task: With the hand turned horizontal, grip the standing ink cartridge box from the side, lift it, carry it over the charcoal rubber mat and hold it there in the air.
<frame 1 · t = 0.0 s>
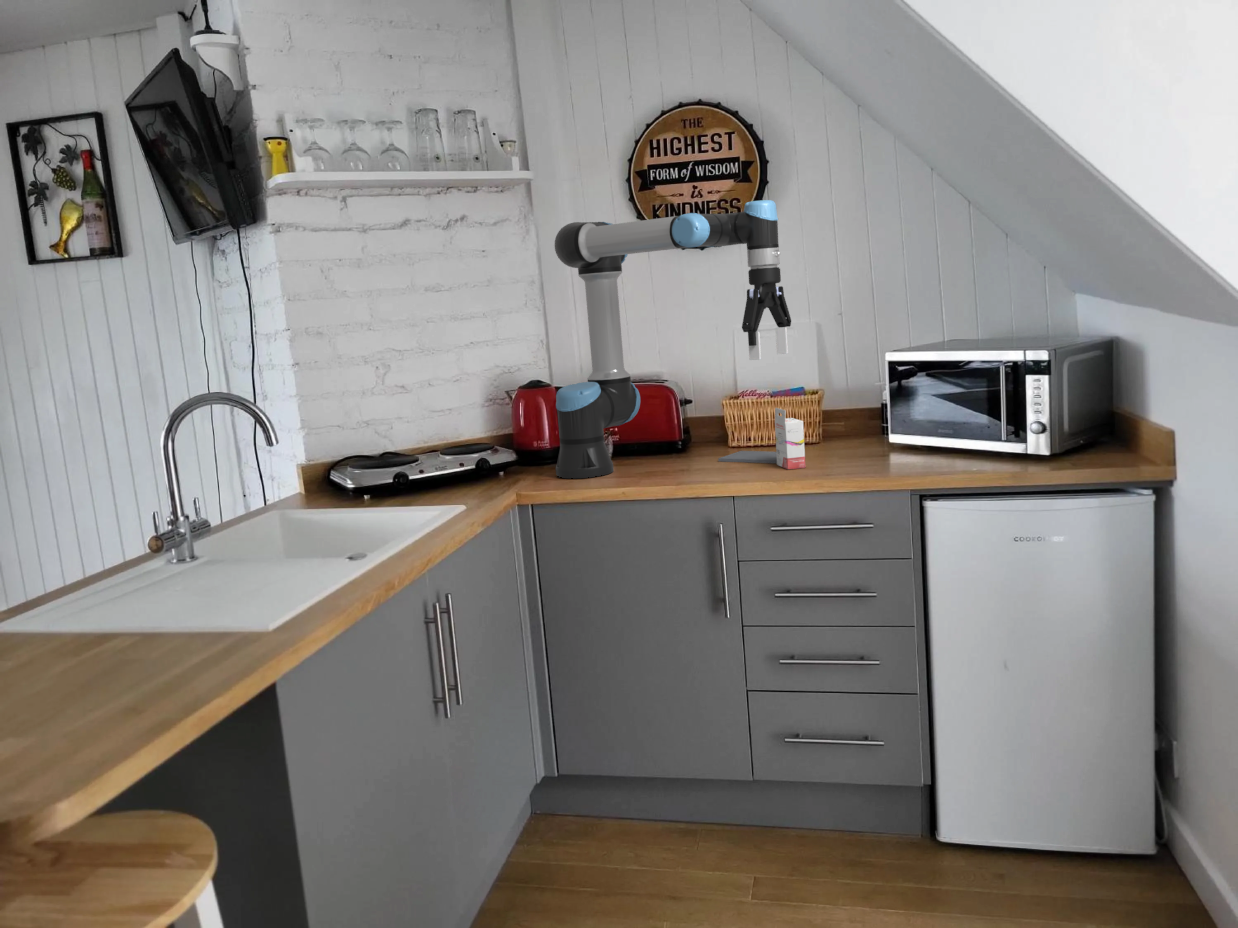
hand: (769, 357, 255), 28 cm above the worktop, tool pointing down, fingers open, 13 cm apart
charcoal mat: (759, 458, 280), on the worktop
ink cartridge box: (791, 467, 264), on the worktop
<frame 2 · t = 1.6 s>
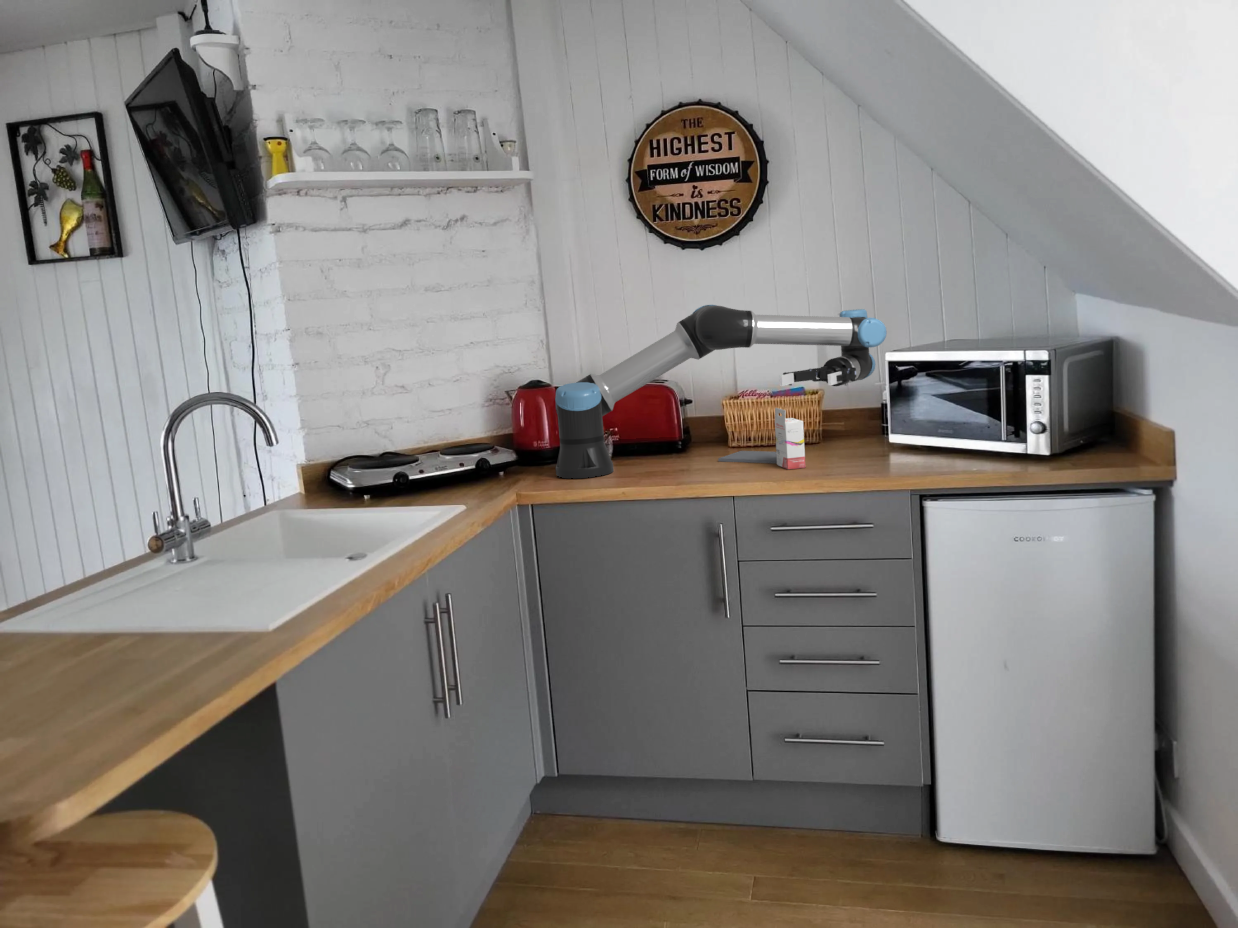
hand: (804, 380, 268), 20 cm above the worktop, tool horizontal, fingers open, 13 cm apart
nothing on the worktop moved.
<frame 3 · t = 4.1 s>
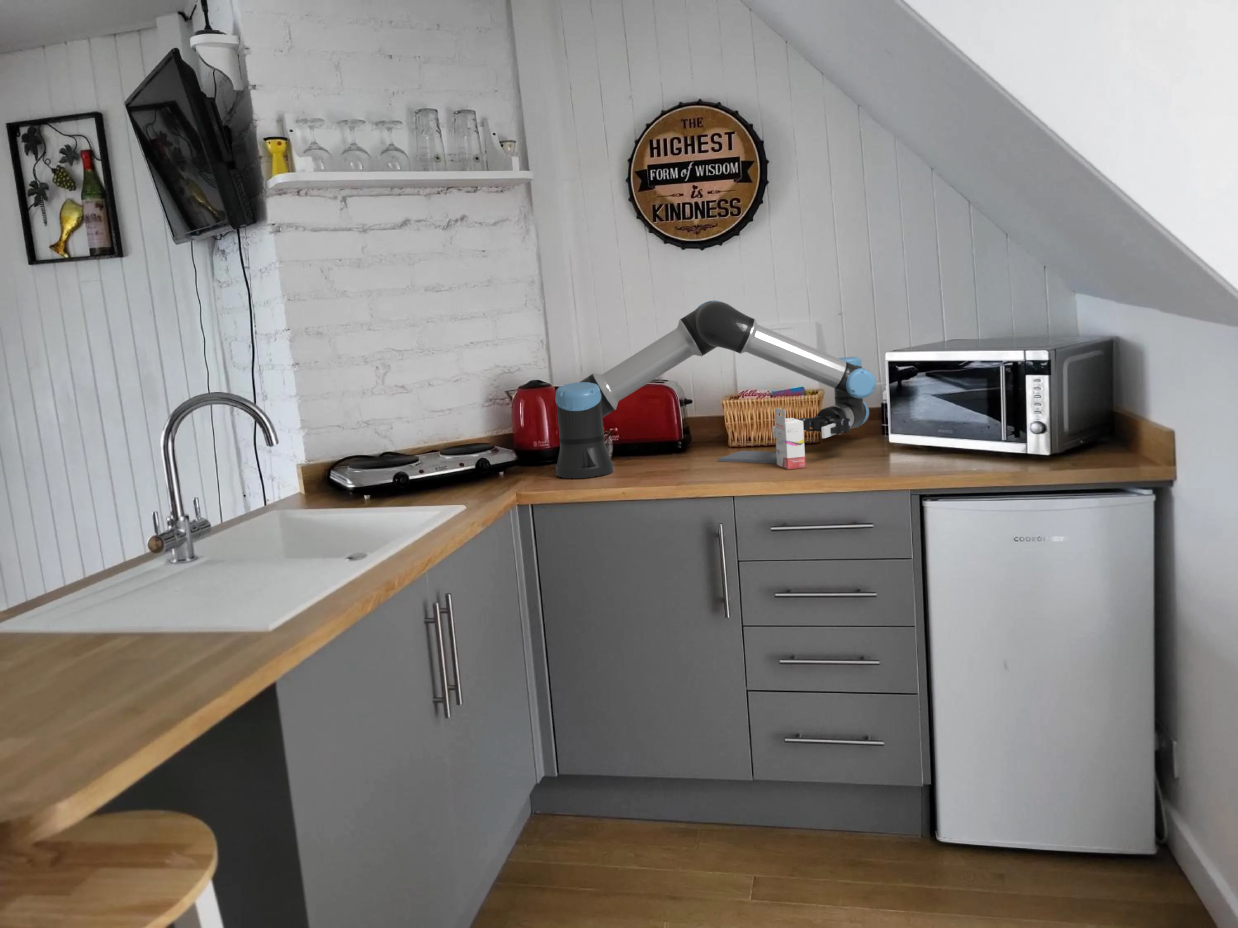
hand: (798, 432, 265), 8 cm above the worktop, tool horizontal, fingers open, 13 cm apart
nothing on the worktop moved.
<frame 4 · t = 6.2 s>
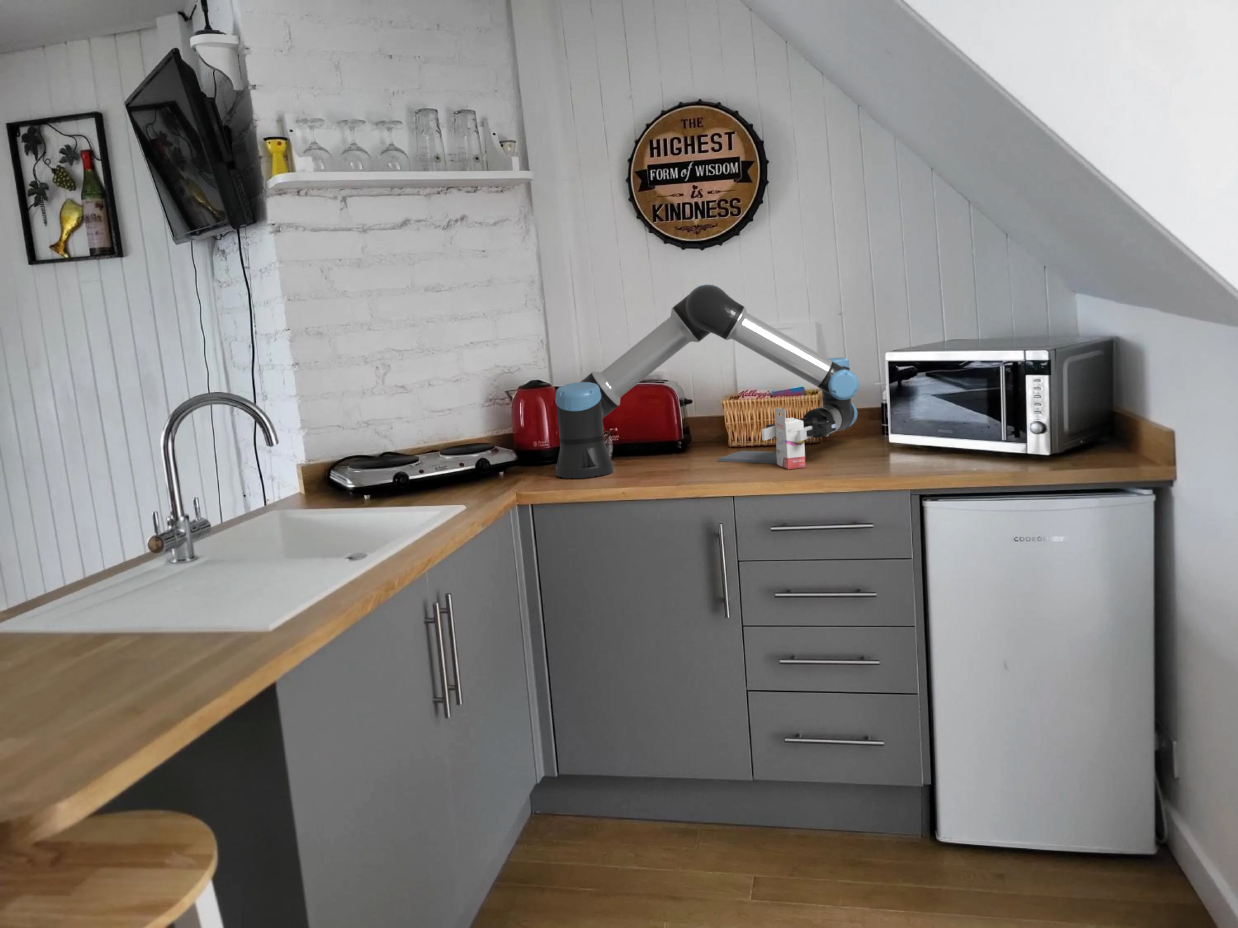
hand: (780, 435, 259), 9 cm above the worktop, tool horizontal, fingers closed on ink cartridge box, 9 cm apart
ink cartridge box: (791, 467, 264), on the worktop, touching gripper
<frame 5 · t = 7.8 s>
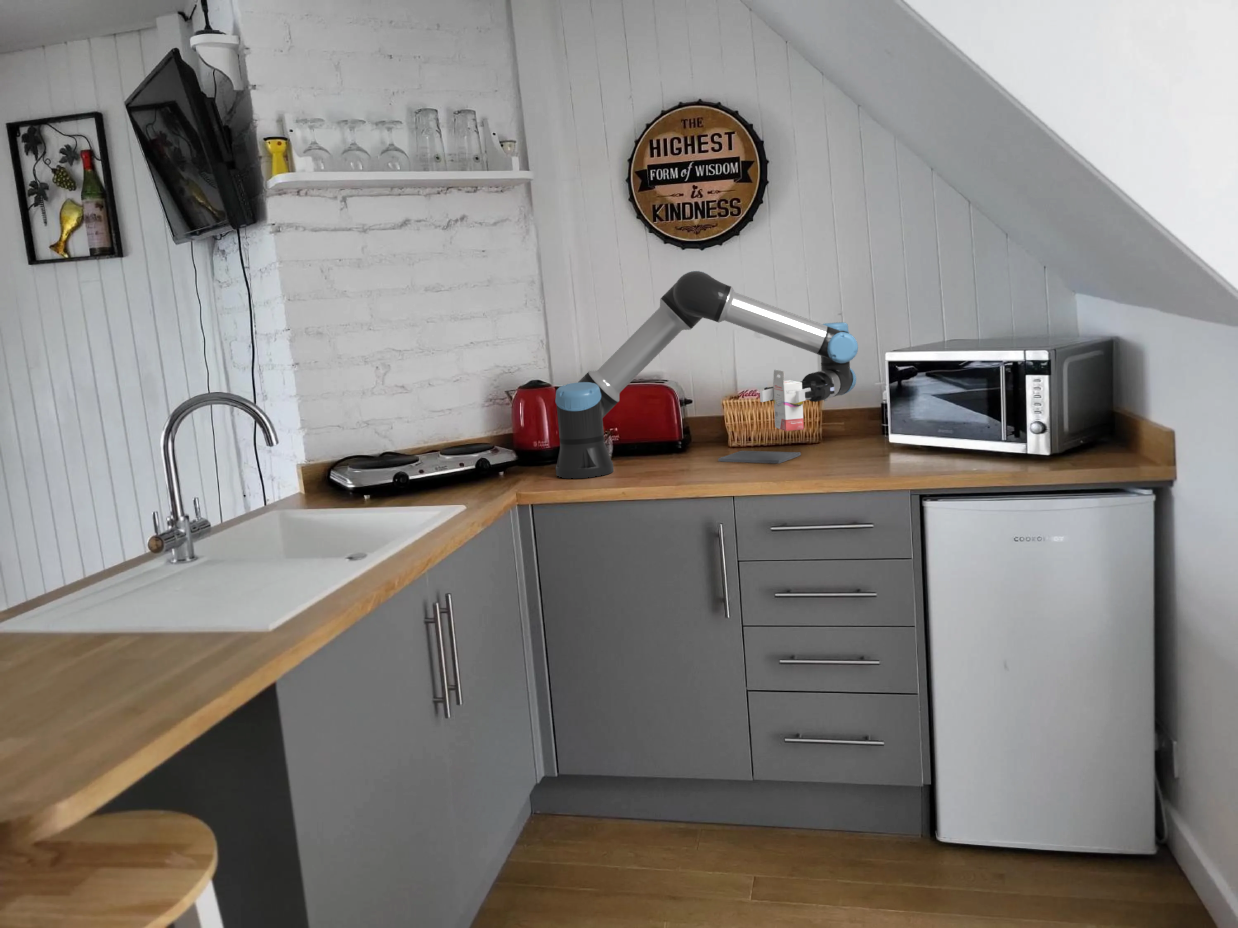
hand: (779, 396, 258), 18 cm above the worktop, tool horizontal, fingers closed on ink cartridge box, 9 cm apart
ink cartridge box: (789, 429, 263), point 9 cm above the worktop, touching gripper
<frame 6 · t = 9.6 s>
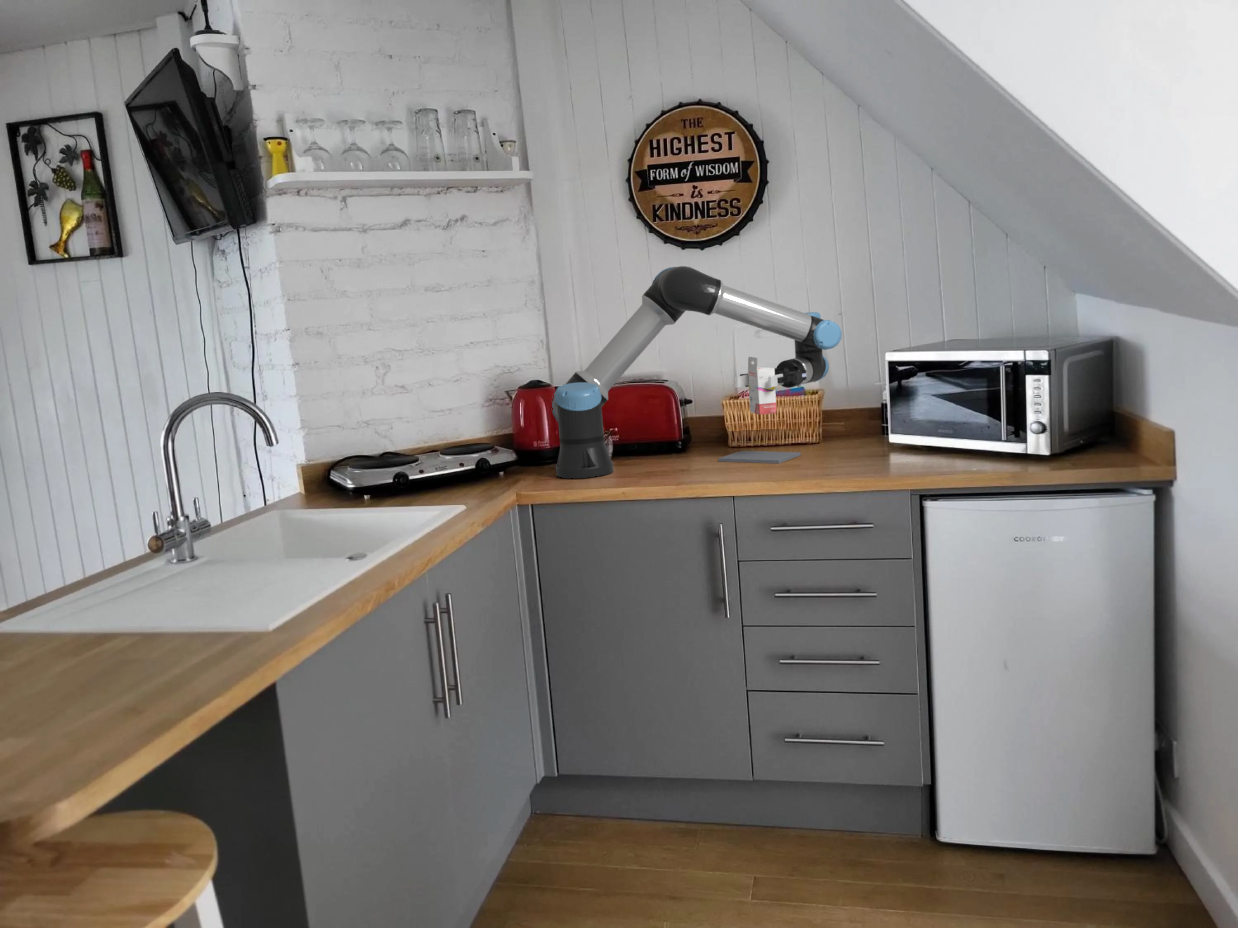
hand: (752, 382, 272), 21 cm above the worktop, tool horizontal, fingers closed on ink cartridge box, 9 cm apart
ink cartridge box: (763, 413, 277), point 12 cm above the worktop, touching gripper
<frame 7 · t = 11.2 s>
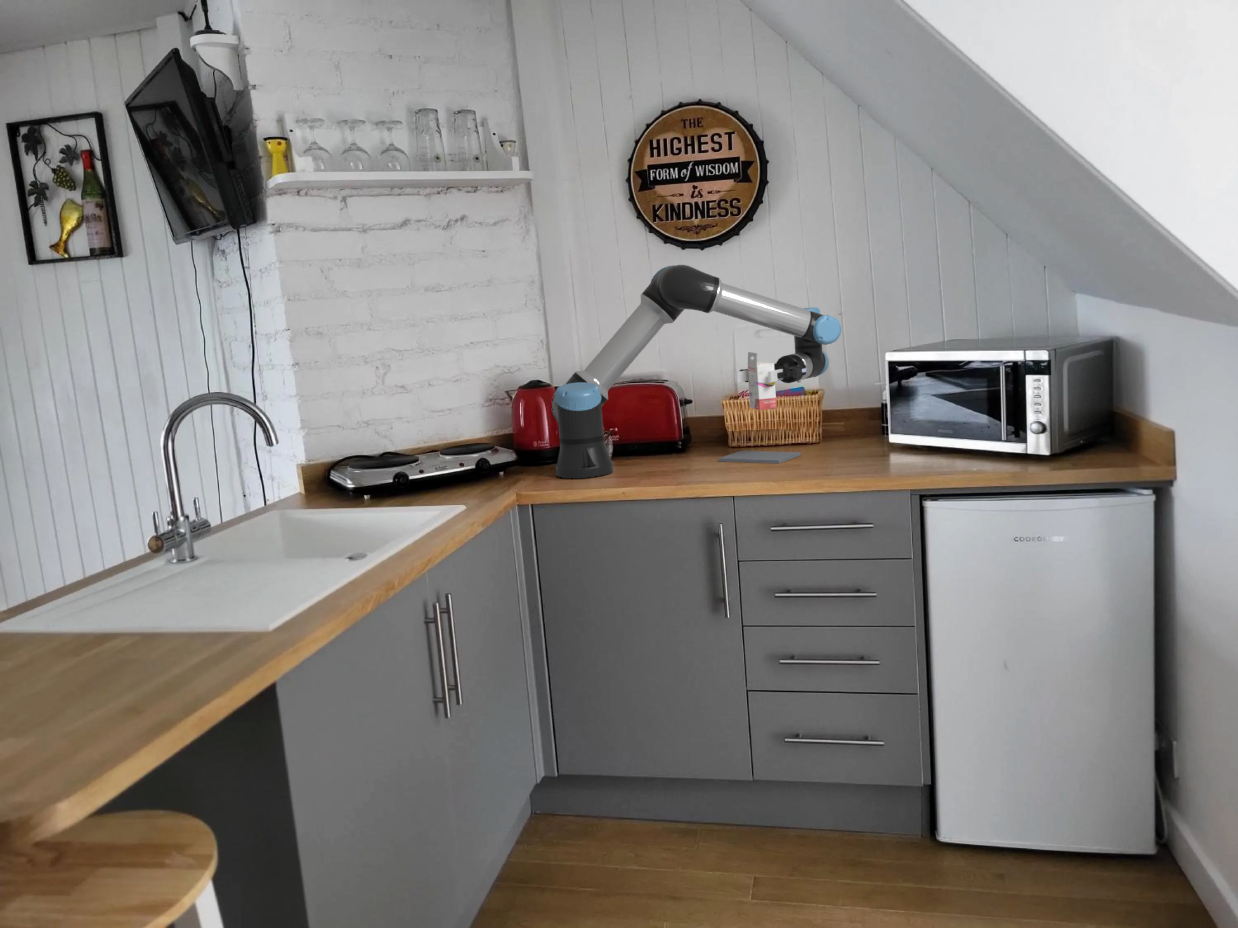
hand: (752, 377, 271), 22 cm above the worktop, tool horizontal, fingers closed on ink cartridge box, 9 cm apart
ink cartridge box: (763, 408, 276), point 13 cm above the worktop, touching gripper
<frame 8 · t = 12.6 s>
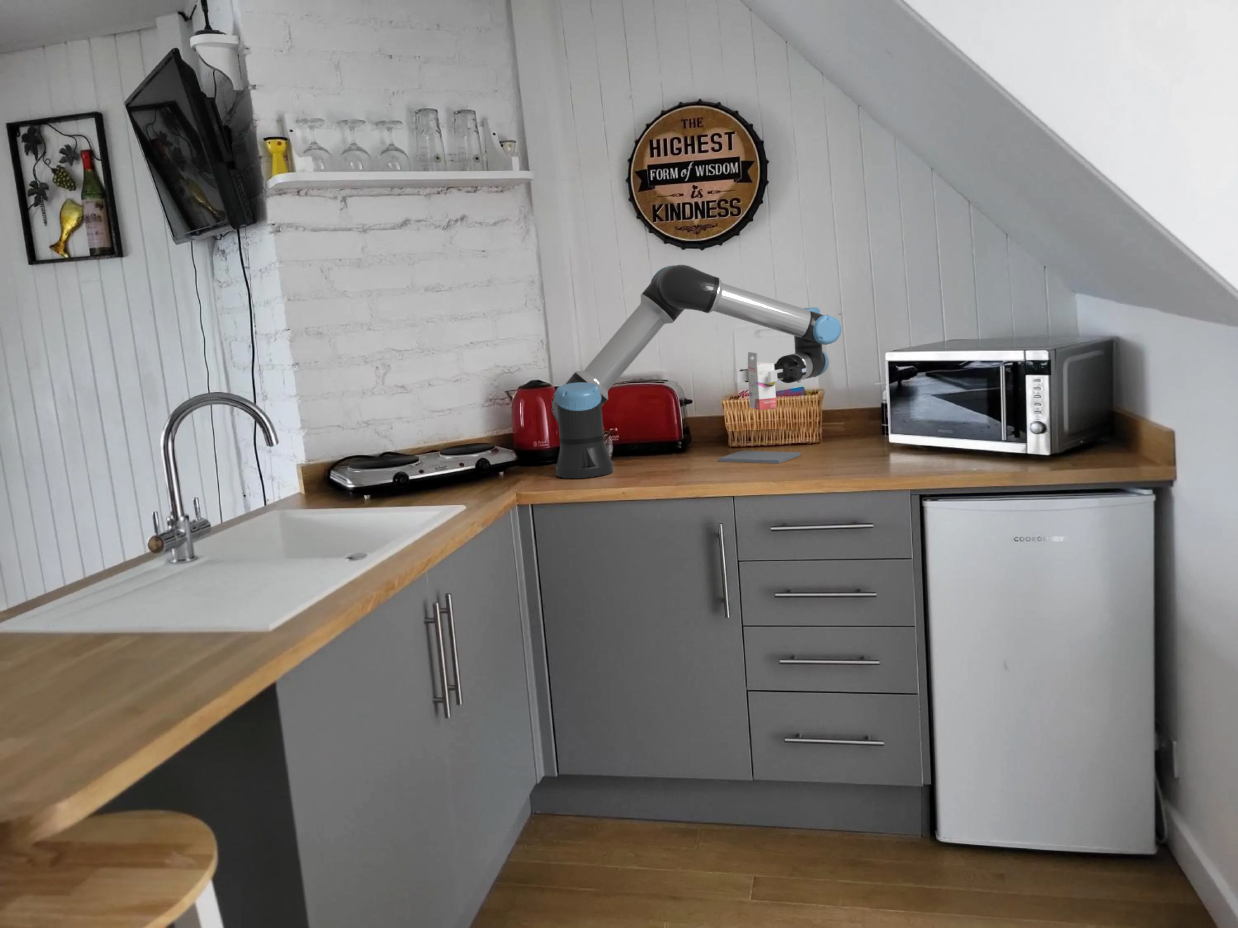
hand: (752, 377, 271), 22 cm above the worktop, tool horizontal, fingers closed on ink cartridge box, 9 cm apart
ink cartridge box: (763, 408, 276), point 13 cm above the worktop, touching gripper
at the end: the gripper is holding ink cartridge box; ink cartridge box point 13.2 cm above the worktop; ink cartridge box 2.0 cm from the charcoal mat (horizontally) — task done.
